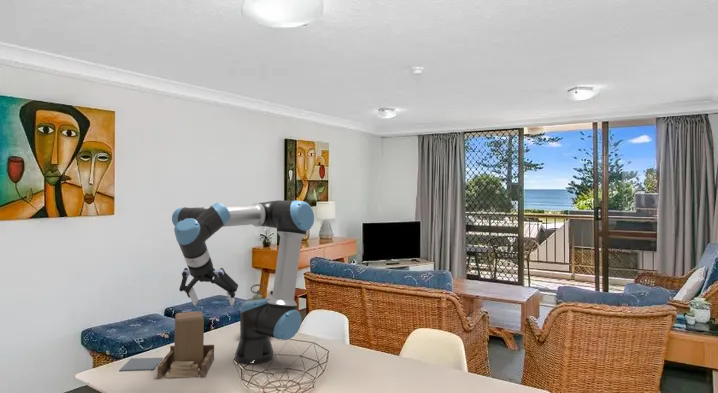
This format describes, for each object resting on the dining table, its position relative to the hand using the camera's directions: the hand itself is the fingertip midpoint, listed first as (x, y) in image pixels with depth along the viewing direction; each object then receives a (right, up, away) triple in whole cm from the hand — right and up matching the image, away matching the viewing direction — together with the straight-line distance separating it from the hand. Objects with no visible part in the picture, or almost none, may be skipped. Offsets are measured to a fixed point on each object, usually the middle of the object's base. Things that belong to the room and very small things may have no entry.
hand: (214, 302), depth 160 cm
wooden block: (-13, -27, +11) cm, 32 cm away
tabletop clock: (+5, -28, +47) cm, 55 cm away
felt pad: (-32, -27, +12) cm, 43 cm away
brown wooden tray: (-13, -27, +9) cm, 31 cm away
